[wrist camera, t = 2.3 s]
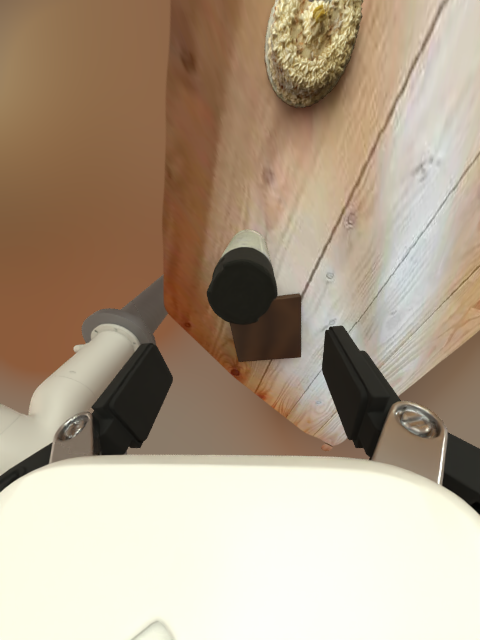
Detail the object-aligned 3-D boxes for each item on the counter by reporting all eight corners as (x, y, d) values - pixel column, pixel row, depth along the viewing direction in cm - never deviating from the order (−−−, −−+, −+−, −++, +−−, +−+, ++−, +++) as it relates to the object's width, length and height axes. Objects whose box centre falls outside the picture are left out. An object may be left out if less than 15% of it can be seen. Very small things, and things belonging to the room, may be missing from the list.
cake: (351, 91, 24) (373, 73, 19) (271, 121, 26) (275, 111, 21) (360, -64, 18) (393, -138, 14) (256, -10, 20) (257, -59, 16)
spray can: (222, 254, 35) (193, 306, 18) (242, 219, 32) (228, 243, 15) (252, 274, 37) (251, 338, 20) (274, 242, 33) (295, 287, 16)
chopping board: (239, 357, 49) (238, 361, 47) (226, 302, 40) (225, 305, 39) (299, 353, 46) (300, 357, 45) (299, 293, 38) (301, 296, 37)
